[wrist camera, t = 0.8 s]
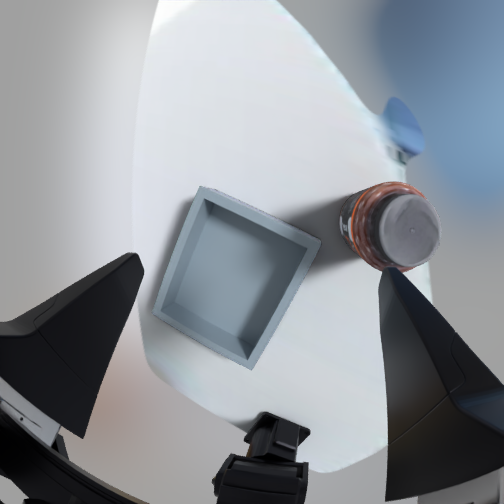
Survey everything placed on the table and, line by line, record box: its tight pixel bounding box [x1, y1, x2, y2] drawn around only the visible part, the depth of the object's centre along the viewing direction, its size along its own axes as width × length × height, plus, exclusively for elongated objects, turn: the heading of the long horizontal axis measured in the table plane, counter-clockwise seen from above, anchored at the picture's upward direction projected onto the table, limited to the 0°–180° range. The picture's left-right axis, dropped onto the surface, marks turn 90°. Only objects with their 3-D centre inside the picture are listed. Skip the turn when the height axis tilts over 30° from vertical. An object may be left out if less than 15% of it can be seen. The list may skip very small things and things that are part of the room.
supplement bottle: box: [339, 182, 441, 273], centre depth 18 cm, size 6×6×11 cm
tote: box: [152, 186, 321, 370], centre depth 25 cm, size 13×11×4 cm
